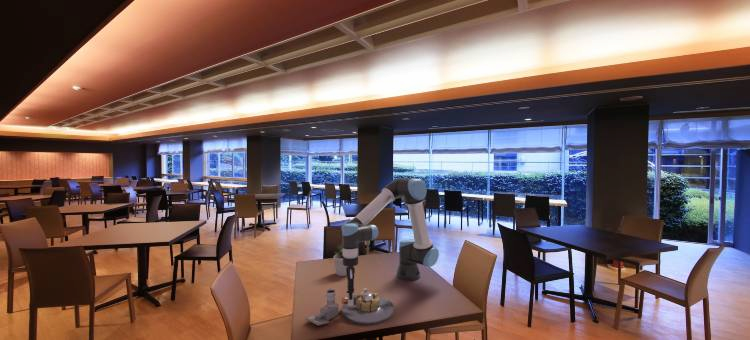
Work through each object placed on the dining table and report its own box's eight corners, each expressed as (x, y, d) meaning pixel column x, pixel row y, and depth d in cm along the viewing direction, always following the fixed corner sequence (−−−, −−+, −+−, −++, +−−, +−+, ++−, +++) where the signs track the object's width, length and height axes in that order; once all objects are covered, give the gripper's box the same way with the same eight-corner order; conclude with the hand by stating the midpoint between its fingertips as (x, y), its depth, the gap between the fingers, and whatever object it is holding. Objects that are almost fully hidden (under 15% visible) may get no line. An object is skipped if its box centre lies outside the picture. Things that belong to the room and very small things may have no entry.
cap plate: (388, 297, 154) (388, 282, 154) (398, 322, 129) (398, 304, 129) (341, 300, 151) (341, 285, 150) (342, 326, 126) (342, 308, 126)
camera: (342, 291, 135) (317, 303, 123) (342, 315, 135) (318, 330, 124) (329, 286, 140) (304, 297, 129) (329, 310, 141) (305, 323, 129)
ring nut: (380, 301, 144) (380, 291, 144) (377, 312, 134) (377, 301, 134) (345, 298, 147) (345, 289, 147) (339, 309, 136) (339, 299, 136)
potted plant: (357, 272, 191) (357, 242, 191) (344, 279, 180) (344, 247, 180) (342, 268, 198) (342, 239, 198) (329, 275, 187) (329, 244, 186)
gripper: (342, 252, 145) (342, 299, 145) (343, 260, 132) (343, 312, 132) (357, 252, 146) (357, 298, 146) (359, 259, 133) (359, 311, 133)
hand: (350, 305), depth 139 cm, fingers closed
